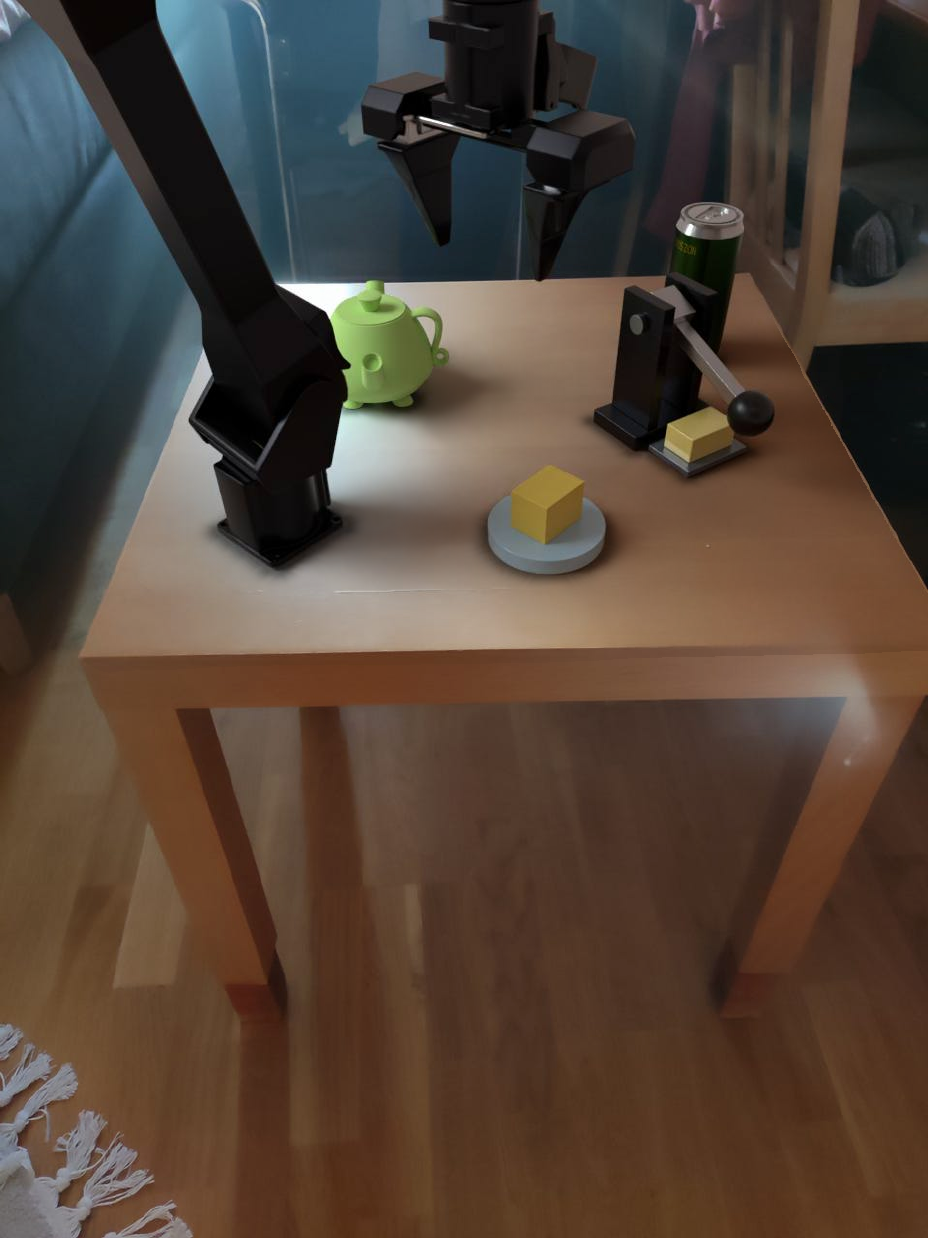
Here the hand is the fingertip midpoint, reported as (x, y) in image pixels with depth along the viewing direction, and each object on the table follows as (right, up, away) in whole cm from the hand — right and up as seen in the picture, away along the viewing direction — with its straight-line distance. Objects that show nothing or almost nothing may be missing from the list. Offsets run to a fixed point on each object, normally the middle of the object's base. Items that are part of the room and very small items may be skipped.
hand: (490, 261), depth 63 cm
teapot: (-10, -6, +13) cm, 17 cm away
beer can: (+18, -2, +17) cm, 25 cm away
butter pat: (+4, -19, -2) cm, 19 cm away
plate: (+4, -19, -1) cm, 20 cm away
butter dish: (+16, -12, +6) cm, 21 cm away
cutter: (+13, -9, +9) cm, 18 cm away
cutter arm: (+15, -8, +2) cm, 17 cm away
